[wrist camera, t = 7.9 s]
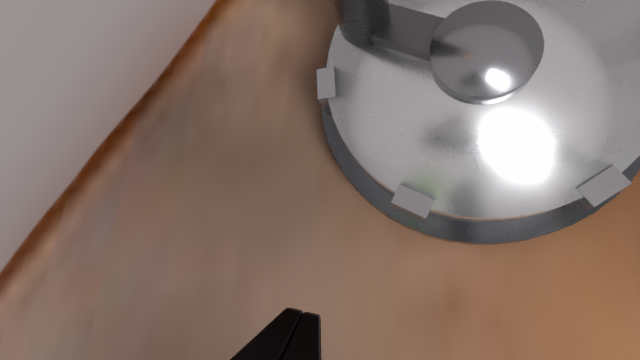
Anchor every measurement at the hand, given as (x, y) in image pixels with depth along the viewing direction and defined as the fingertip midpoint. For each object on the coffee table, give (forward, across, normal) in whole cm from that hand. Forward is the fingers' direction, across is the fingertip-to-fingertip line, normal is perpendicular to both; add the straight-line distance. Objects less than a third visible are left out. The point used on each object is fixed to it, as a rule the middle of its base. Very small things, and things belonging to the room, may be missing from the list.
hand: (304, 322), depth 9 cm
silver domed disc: (+17, -5, -2) cm, 17 cm away
